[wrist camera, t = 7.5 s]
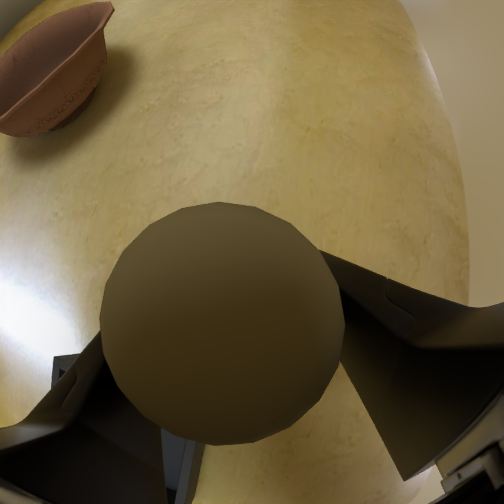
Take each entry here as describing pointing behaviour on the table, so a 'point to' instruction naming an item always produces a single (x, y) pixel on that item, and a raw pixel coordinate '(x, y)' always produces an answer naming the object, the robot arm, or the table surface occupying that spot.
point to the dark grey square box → (174, 451)
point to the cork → (222, 324)
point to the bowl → (53, 70)
